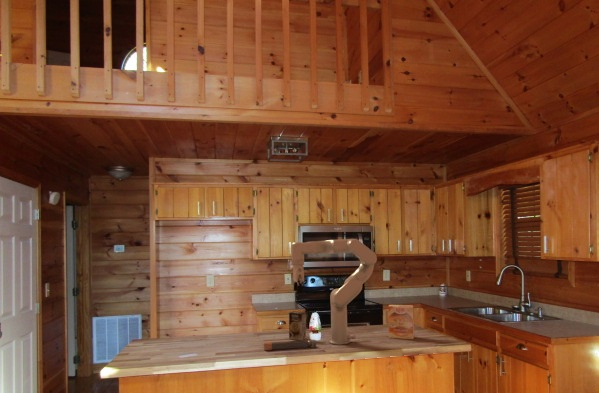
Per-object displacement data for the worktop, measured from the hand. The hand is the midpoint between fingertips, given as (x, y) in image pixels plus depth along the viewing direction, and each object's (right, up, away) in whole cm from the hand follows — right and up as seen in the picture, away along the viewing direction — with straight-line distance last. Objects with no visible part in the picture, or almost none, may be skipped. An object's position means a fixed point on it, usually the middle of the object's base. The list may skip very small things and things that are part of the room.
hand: (298, 291), depth 269 cm
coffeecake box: (+64, -31, +10) cm, 72 cm away
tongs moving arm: (-6, -29, -15) cm, 33 cm away
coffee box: (0, -31, +10) cm, 33 cm away
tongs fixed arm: (-5, -29, -13) cm, 33 cm away
